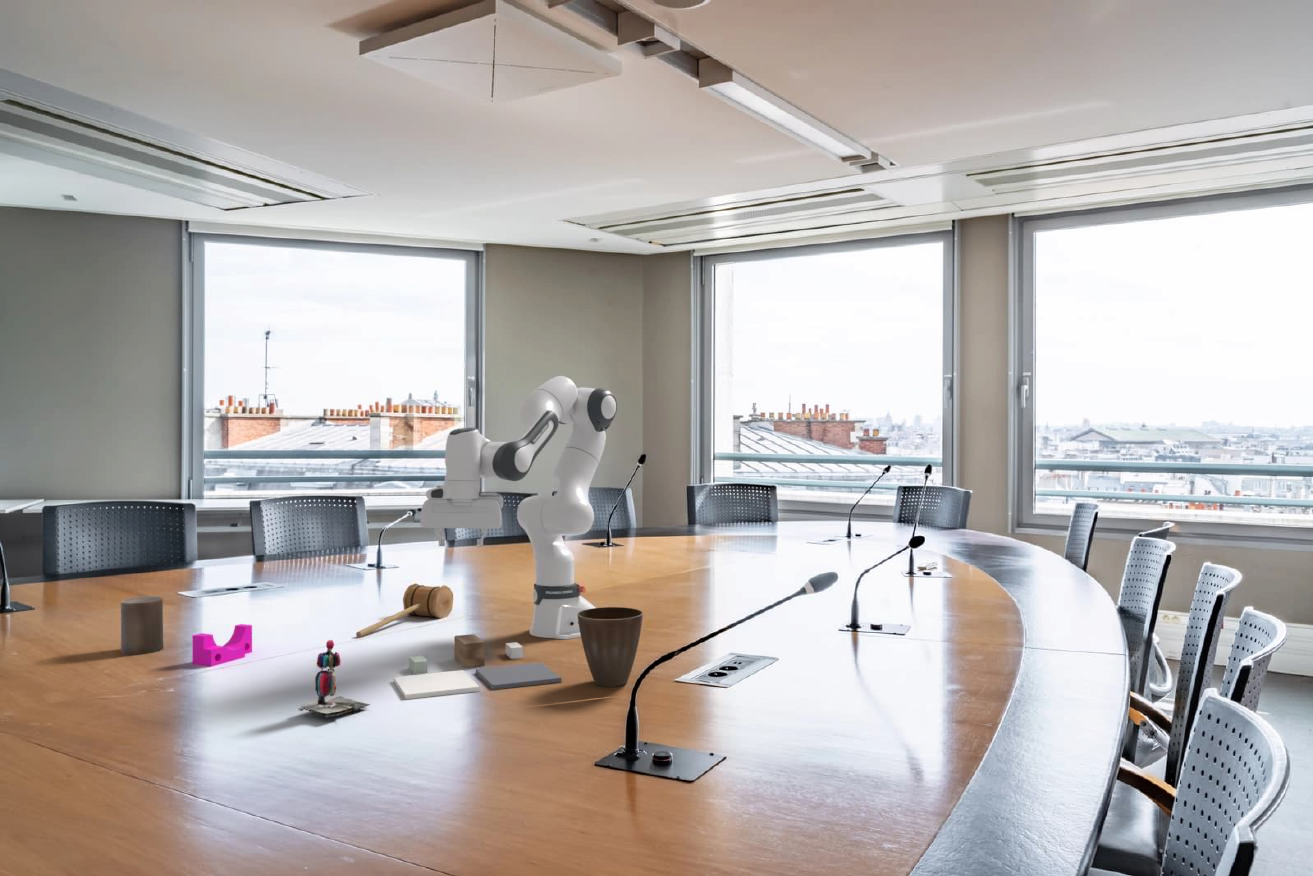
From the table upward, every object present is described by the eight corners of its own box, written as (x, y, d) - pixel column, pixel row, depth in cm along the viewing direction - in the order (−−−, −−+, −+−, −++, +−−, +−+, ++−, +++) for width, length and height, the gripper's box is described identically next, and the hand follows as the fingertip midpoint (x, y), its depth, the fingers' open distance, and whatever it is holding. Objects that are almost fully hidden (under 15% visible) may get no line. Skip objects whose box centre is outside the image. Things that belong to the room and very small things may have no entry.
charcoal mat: (540, 666, 233) (540, 662, 233) (561, 682, 219) (561, 677, 219) (475, 673, 227) (475, 668, 227) (492, 689, 212) (492, 685, 212)
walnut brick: (474, 657, 243) (474, 634, 243) (484, 666, 234) (484, 642, 234) (454, 659, 241) (454, 635, 241) (464, 668, 232) (464, 644, 231)
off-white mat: (463, 674, 225) (463, 670, 225) (479, 691, 211) (479, 686, 211) (393, 681, 219) (393, 677, 219) (405, 699, 204) (405, 694, 204)
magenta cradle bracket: (211, 668, 232) (211, 637, 232) (192, 666, 234) (192, 635, 234) (259, 655, 245) (259, 626, 245) (241, 652, 248) (241, 624, 248)
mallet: (342, 650, 266) (339, 615, 265) (422, 610, 301) (420, 579, 300) (378, 654, 262) (375, 618, 261) (455, 613, 296) (453, 582, 295)
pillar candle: (169, 652, 248) (168, 594, 248) (128, 658, 241) (128, 599, 241) (155, 646, 254) (154, 590, 254) (114, 652, 247) (114, 594, 247)
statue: (326, 723, 188) (326, 647, 188) (296, 716, 193) (296, 641, 193) (370, 710, 197) (370, 637, 197) (340, 703, 202) (340, 632, 202)
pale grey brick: (505, 655, 246) (505, 643, 246) (517, 653, 247) (517, 642, 247) (511, 660, 240) (511, 648, 240) (522, 659, 242) (522, 647, 242)
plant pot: (593, 695, 208) (593, 621, 208) (567, 679, 221) (567, 610, 221) (654, 686, 215) (654, 615, 215) (625, 671, 228) (625, 604, 228)
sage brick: (409, 669, 231) (409, 656, 231) (421, 668, 232) (421, 655, 232) (414, 675, 226) (414, 662, 226) (427, 673, 227) (427, 661, 227)
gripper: (504, 491, 247) (502, 545, 247) (423, 490, 244) (421, 544, 244) (503, 492, 240) (501, 547, 240) (420, 491, 238) (418, 547, 238)
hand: (460, 546), depth 242 cm, fingers open, 8 cm apart
